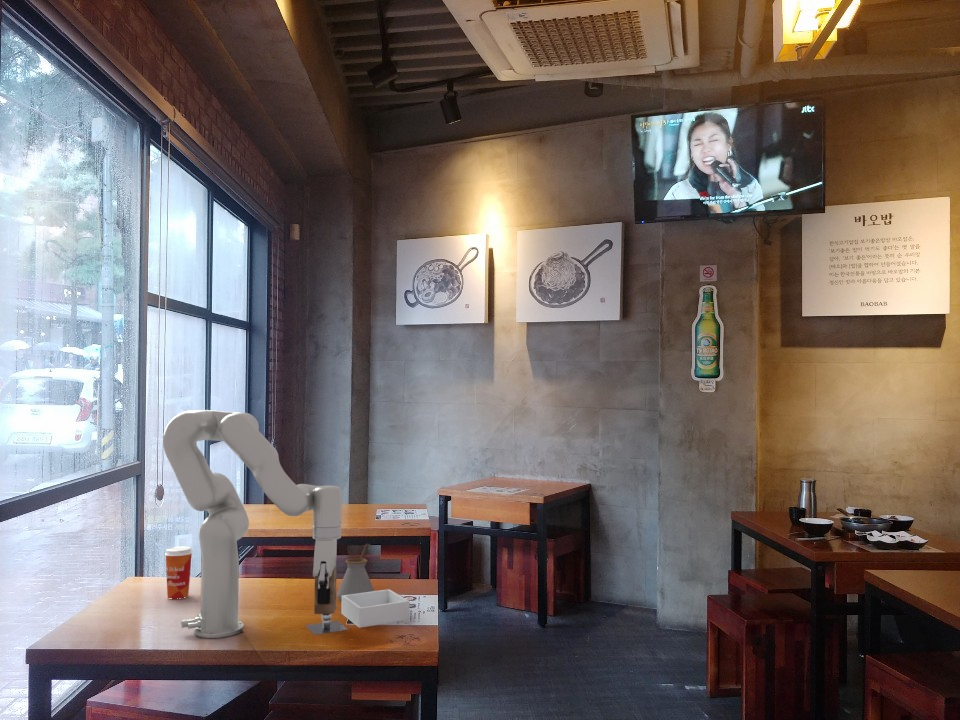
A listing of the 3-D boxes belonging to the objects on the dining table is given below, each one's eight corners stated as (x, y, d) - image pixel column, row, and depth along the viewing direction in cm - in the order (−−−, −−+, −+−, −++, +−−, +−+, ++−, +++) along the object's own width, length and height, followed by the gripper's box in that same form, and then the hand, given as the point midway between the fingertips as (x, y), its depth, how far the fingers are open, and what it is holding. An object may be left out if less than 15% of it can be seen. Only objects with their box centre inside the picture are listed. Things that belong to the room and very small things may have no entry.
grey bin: (359, 631, 199) (359, 608, 199) (341, 616, 212) (341, 595, 212) (409, 623, 206) (409, 601, 206) (389, 609, 219) (389, 589, 219)
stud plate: (314, 638, 193) (315, 617, 193) (304, 629, 201) (305, 608, 201) (348, 633, 197) (348, 612, 197) (337, 624, 205) (337, 604, 205)
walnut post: (314, 614, 196) (314, 571, 197) (317, 608, 201) (317, 567, 202) (333, 613, 197) (334, 571, 197) (336, 608, 202) (336, 567, 202)
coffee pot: (370, 608, 220) (370, 557, 220) (332, 608, 221) (332, 556, 221) (385, 590, 241) (385, 543, 242) (350, 589, 242) (350, 542, 243)
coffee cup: (157, 599, 229) (158, 550, 230) (175, 592, 237) (176, 545, 238) (180, 601, 227) (181, 552, 228) (198, 594, 235) (199, 546, 235)
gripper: (318, 526, 208) (316, 592, 208) (307, 538, 191) (305, 610, 191) (345, 526, 209) (343, 592, 208) (336, 538, 192) (334, 610, 191)
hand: (325, 599), depth 199 cm, fingers closed on walnut post, 5 cm apart
